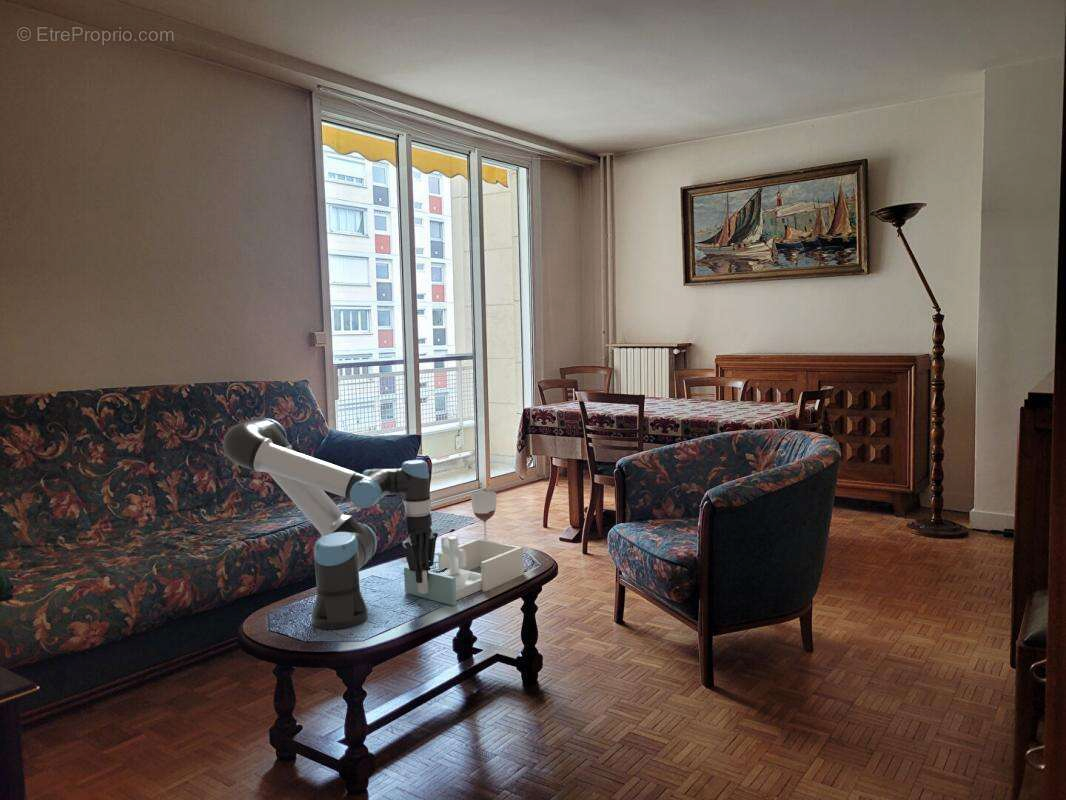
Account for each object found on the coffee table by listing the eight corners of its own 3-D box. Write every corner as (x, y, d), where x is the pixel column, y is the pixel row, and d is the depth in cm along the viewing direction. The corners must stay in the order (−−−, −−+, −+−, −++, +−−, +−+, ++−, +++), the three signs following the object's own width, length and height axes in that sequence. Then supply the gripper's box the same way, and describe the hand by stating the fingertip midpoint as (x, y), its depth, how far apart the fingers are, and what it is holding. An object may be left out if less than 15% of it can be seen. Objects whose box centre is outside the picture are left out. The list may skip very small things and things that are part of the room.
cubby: (484, 591, 235) (483, 562, 234) (439, 580, 247) (438, 553, 246) (523, 574, 250) (522, 547, 249) (479, 564, 262) (478, 538, 261)
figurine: (457, 590, 233) (455, 542, 232) (436, 584, 239) (433, 537, 238) (474, 583, 238) (472, 536, 237) (453, 578, 245) (451, 531, 243)
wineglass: (470, 559, 268) (468, 497, 266) (477, 551, 277) (474, 491, 275) (495, 559, 267) (493, 497, 264) (501, 551, 276) (498, 491, 274)
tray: (453, 605, 223) (451, 578, 223) (405, 592, 236) (403, 567, 235) (495, 586, 239) (494, 561, 238) (448, 575, 251) (447, 551, 250)
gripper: (425, 507, 232) (430, 583, 234) (392, 517, 222) (397, 596, 224) (443, 510, 227) (447, 588, 230) (410, 520, 217) (415, 601, 220)
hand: (423, 592), depth 227 cm, fingers closed
